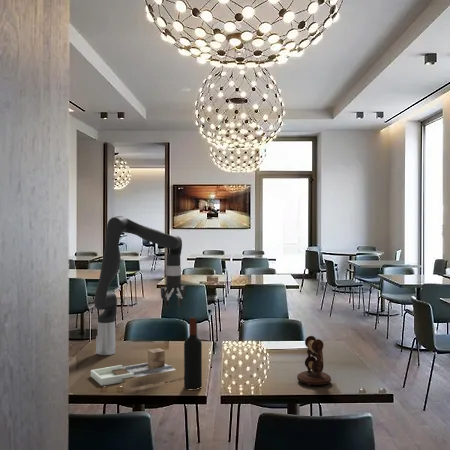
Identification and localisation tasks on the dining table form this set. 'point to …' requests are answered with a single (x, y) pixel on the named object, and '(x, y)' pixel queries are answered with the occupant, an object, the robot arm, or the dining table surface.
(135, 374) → the slot plate
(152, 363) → the block
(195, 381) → the wine bottle
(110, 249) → the robot arm
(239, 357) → the dining table surface
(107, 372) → the tray
